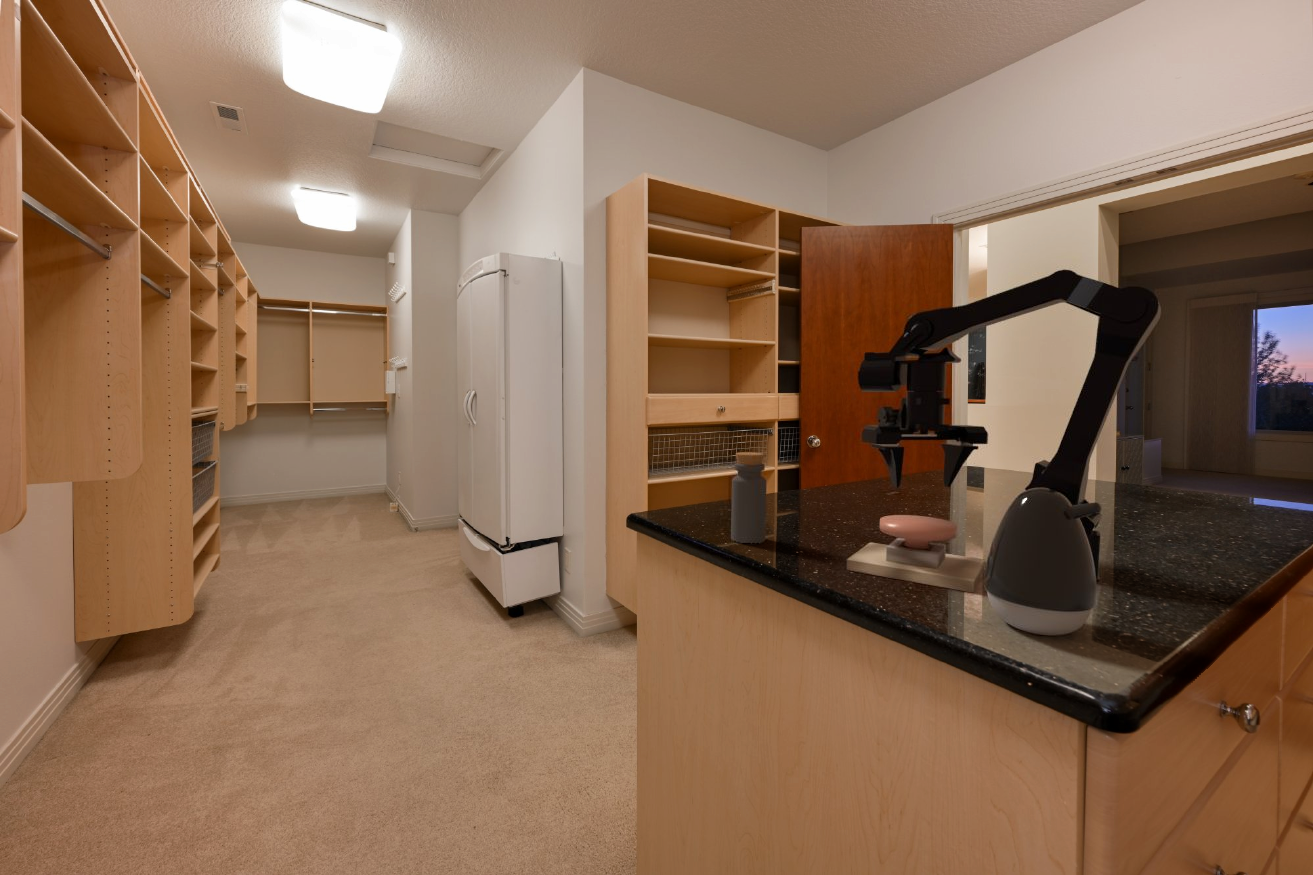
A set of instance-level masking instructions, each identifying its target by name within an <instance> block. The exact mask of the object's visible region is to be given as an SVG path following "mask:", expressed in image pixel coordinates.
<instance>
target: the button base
mask: <svg viewBox="0 0 1313 875" xmlns="http://www.w3.org/2000/svg"><path fill="white" fill-rule="evenodd" d="M904 542H905V538H900V537H896V539H894V540H893V541H892V542H891V543H889V544H884V543H883V544H882V543H876V542H869V543H866V545H865V546H863V547H862V548H860V549H859V550H858V551H856V552H855V553H854V554H852V555H851V556H850V557H848V558H846V571H851V572H856V573H861V574H867V575H873V576H878V577H884V578H890V579H895V580H901V581H906V582H912V583H917V584H918V583H919V584H923V585H927V586H928V585H929V586H935V587H940V588H946V589H952V590H957V591H963V592H968V593H974V592H975V590H976V588H977V585H978V583H979V582H980V579H981V577H982V575H983V574H984V572H985V562H986V561H985V558H979V557H971V556H965V555H960V554H959V555H956V554H951V553H947V552H946V550H947V549H946V548H947V545H946V543H945V544H943V543H936V542H932V541H929V548H926V549H917V548H911V547H907V546H905V545H904Z"/></svg>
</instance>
